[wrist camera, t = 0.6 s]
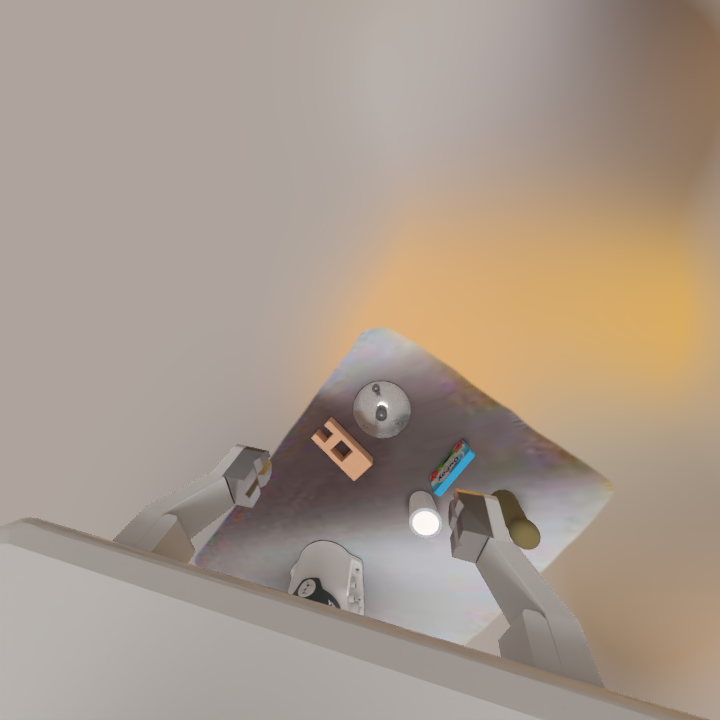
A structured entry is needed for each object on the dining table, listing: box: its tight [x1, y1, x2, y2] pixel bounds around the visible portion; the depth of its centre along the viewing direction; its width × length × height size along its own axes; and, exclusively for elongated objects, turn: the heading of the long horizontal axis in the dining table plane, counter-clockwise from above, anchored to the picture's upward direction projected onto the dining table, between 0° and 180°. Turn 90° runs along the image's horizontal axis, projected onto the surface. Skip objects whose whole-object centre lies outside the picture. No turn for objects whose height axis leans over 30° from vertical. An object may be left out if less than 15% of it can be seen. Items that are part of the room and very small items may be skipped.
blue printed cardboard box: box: [429, 439, 475, 497], centre depth 56 cm, size 12×2×6 cm, turn 144°
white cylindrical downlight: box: [409, 491, 442, 538], centre depth 57 cm, size 7×7×7 cm
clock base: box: [353, 381, 411, 438], centre depth 56 cm, size 13×13×6 cm
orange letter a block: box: [311, 417, 373, 481], centre depth 60 cm, size 14×6×3 cm, turn 45°
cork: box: [491, 490, 540, 550], centre depth 53 cm, size 6×6×11 cm
